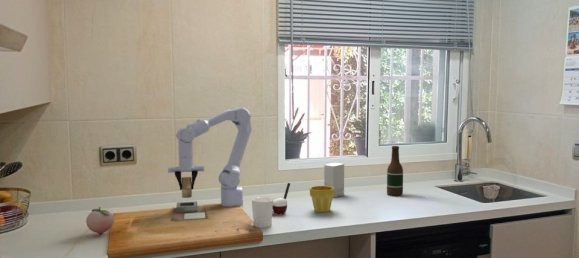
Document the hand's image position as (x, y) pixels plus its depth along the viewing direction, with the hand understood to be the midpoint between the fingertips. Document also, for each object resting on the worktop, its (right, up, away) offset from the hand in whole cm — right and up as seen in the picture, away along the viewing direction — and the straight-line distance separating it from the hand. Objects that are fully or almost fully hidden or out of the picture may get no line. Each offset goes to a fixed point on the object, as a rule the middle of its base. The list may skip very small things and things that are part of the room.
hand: (186, 189), depth 187 cm
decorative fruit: (-25, -13, -27) cm, 39 cm away
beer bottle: (+94, -8, +33) cm, 100 cm away
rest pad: (+5, -10, -9) cm, 14 cm away
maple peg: (0, -3, 0) cm, 3 cm away
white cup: (+32, -12, -17) cm, 38 cm away
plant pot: (+56, -10, +5) cm, 58 cm away
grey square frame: (0, -9, +1) cm, 9 cm away
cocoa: (+39, -10, +1) cm, 40 cm away
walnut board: (+2, -11, -4) cm, 12 cm away
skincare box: (+65, -8, +33) cm, 73 cm away
